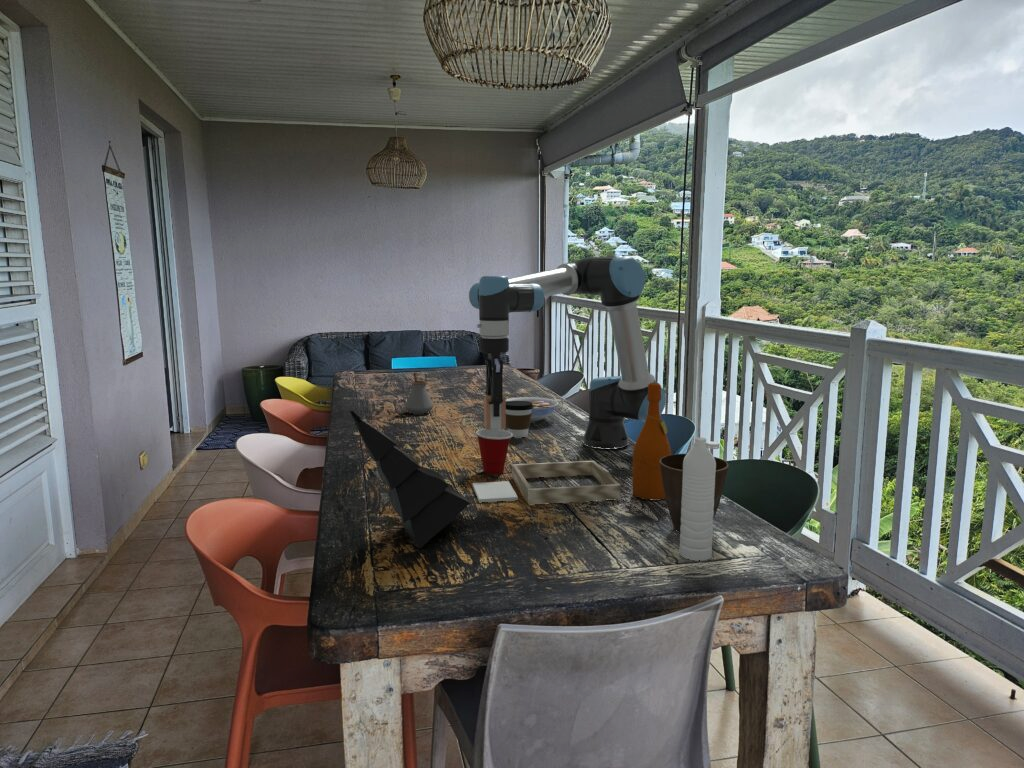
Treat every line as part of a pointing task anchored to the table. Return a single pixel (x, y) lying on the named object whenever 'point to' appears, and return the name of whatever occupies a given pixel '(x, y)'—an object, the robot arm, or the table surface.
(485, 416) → the block
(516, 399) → the ramen bowl
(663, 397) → the robot arm
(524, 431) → the coffee cup
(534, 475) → the frame
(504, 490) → the pad
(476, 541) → the table surface
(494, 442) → the plastic cup
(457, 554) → the table surface
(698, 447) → the water bottle
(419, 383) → the coffee pot
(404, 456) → the decorative tree
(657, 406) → the wine bottle
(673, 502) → the plant pot
